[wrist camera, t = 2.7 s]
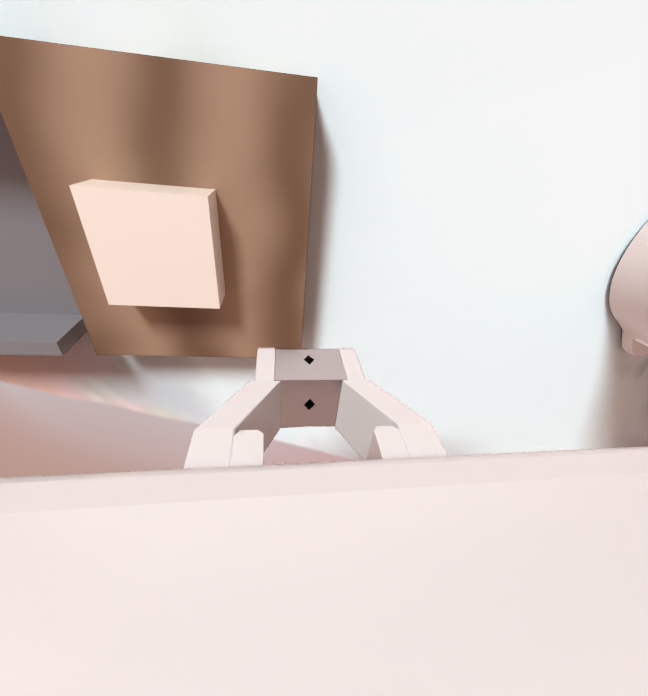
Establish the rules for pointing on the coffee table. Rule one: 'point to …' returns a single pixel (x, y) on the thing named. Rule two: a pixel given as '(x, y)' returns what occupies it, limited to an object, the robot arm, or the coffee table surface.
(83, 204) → the tile
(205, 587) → the robot arm
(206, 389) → the coffee table surface
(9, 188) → the box
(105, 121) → the board
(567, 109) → the coffee table surface
